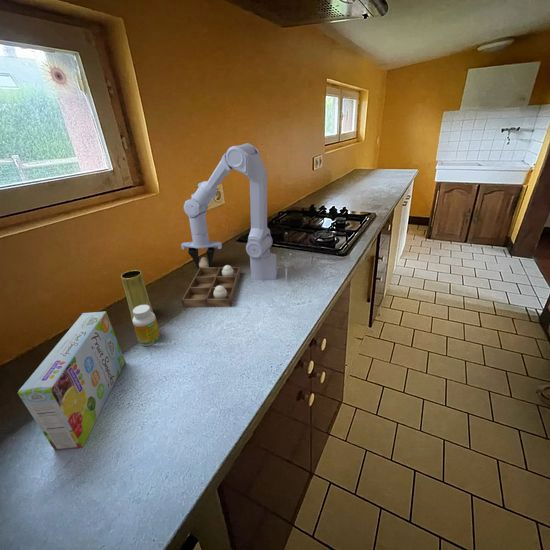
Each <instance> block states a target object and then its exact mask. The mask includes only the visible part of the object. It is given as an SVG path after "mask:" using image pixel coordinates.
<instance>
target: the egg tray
mask: <svg viewBox="0 0 550 550" xmlns="http://www.w3.org/2000/svg"><path fill="white" fill-rule="evenodd" d="M223 267H224V266H217V267H216V266H215V267H214V266H211V267H198V269H197V271H196V273H195V275H194V277H193V278H192V280H191V283H190V284H189V286H188V287H187V290H186V291H185V292H184V295H183V296H182V298H181V304H182V308H232V305H233V303H234V302H233V301H234V298H235V294H236V292H237V287H238V284H239V281H240V276H241V273H242V272H241V267H240V266H231V267H232V269H233V270H234V275H233V276H223V275H222V270H223ZM218 285H221V286H223V287H224V288H225V289H226V291H227V296H226V298H225V299H215V297H214V295H213V292H214V290H215V288H216V287H217V286H218Z"/></svg>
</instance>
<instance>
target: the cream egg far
mask: <svg viewBox="0 0 550 550" xmlns="http://www.w3.org/2000/svg"><path fill="white" fill-rule="evenodd" d="M222 267H223V270H222V275H223V276H233V275H234V270H233V269H232V267H233V266H231V265H229V264H226V265H224V266H222Z"/></svg>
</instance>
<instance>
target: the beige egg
mask: <svg viewBox="0 0 550 550" xmlns="http://www.w3.org/2000/svg"><path fill="white" fill-rule="evenodd" d="M200 267H209V260H208V257H205V256H202V257H201V258H199V267H198V268H200Z"/></svg>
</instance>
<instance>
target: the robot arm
mask: <svg viewBox="0 0 550 550" xmlns="http://www.w3.org/2000/svg"><path fill="white" fill-rule="evenodd" d="M232 170H235V171H237V172H239V173H241V174H242V175H244V176H245V177H246V178H248V179H249V196H250V197H249V199H250V200H249V202H250V204H249V205H250V232H249V234H248V237H247V243H246V245H245V251H246V253H247V255H248V256H249V261H250V262H249V265H250V277H251V279H253V280H254V281H266V280H277V275H278V270H279V269H278V266H277V264H278V263H277V254H276V253H272V252H271V250H270V248H271V247H272V245H273V241H274V240H273V238H272V236H271V230H270V228H269V227H268V170H267V168H266V166H265V165H264V163H263V160H262V158H261V155H260V150H258V148H257V147H255V146H254V144H253V145H252V144H251V143H248V142H247V143H243V144H239V145H233V146H230V147H229V148H228V149H227V151H226V153H224V154H223V155H222V157H221V159H220V161H219V163H218V164H217V165H216V167H215V169H214V170H213V172H212V174H211V175H210V177H209V178H208V180H204V181H202V182H199V183H198V184H197V187H198V188H197V189H196V190H195V192H194V193H191V195H190V197H191V198H190V199H187V200H185V201H184V204H183V211H184V213H185V214H186V215H187V217H188V220H189V227H190V233H191V238H192V241H187V242H182V243H181V244H180V249H181V250H186V249H187V250H188V251H187V252H188V255H189V256H190V257H191V259H192V260H193V261H194V264H195V266H196V268H200V267H199V261H200V258H199V257H200V256H199V249H207V250H206V251H205V252H206V255H207V259H208V260H209V267H213V260H214V259H213V258H214V255H215V251H216V249H218V250H221V249H222V247H223V244H222V242H221V241H212V240H210V238H209V231H208V223H207V217H206V216H207V210H208V208H209V204H210V203H211V201H213V199H214V198H215V197H216V195H217V194H218V189H217V188H218V186H219V185H220V184H221V182H222V181H224V179H225V178H226V177H227V175H228V174H229V173H230V172H231V171H232Z"/></svg>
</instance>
